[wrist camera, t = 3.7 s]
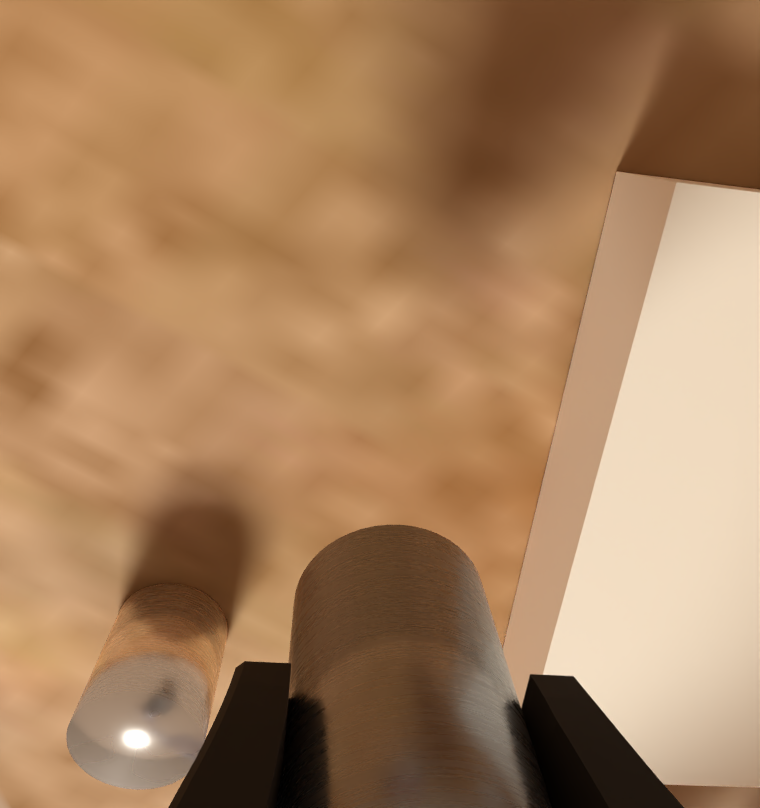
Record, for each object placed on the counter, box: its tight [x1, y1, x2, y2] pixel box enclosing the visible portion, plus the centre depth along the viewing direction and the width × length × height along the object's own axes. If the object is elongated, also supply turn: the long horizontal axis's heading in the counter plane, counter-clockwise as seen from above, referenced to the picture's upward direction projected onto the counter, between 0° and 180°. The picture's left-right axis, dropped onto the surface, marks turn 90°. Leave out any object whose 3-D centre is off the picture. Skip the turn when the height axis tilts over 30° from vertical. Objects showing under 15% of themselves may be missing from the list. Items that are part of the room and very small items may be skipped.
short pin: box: [67, 583, 228, 789], centre depth 18 cm, size 3×3×4 cm
